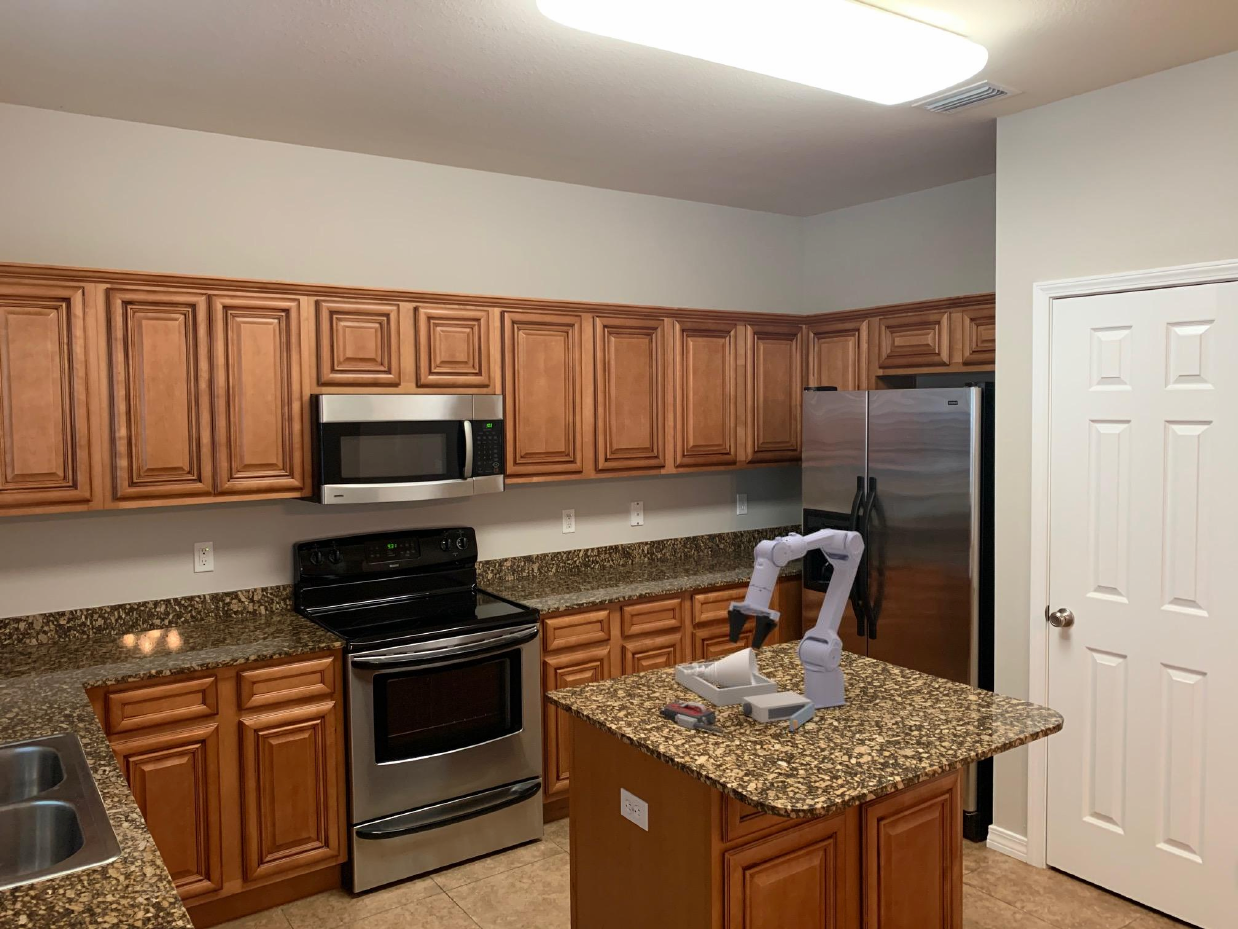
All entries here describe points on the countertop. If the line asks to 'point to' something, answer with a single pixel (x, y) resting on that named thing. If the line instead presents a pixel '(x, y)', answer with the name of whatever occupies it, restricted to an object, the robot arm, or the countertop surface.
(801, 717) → the side door
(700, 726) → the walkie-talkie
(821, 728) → the countertop surface
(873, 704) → the countertop surface
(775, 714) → the white box with knob
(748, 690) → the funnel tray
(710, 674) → the rocket engine
